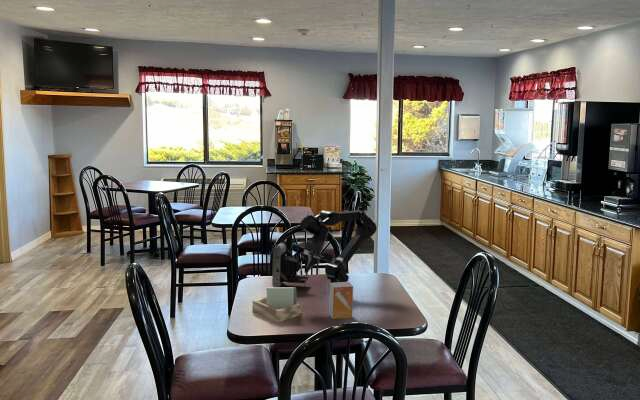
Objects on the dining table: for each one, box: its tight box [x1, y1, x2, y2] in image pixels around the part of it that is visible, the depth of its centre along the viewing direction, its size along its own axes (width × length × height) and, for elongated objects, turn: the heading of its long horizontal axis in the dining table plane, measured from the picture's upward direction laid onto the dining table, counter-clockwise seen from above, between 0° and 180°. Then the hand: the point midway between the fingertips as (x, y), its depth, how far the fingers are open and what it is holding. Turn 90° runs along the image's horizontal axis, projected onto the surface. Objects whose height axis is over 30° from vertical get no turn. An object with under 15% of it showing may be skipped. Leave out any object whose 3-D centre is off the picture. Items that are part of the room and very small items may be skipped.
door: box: [266, 286, 297, 310], centre depth 217 cm, size 1×12×10 cm, turn 91°
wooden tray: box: [251, 296, 302, 323], centre depth 219 cm, size 12×16×4 cm
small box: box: [328, 281, 354, 320], centre depth 216 cm, size 8×6×13 cm
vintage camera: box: [271, 241, 310, 287], centre depth 252 cm, size 10×15×20 cm, turn 78°
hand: (305, 273), depth 228 cm, fingers closed
